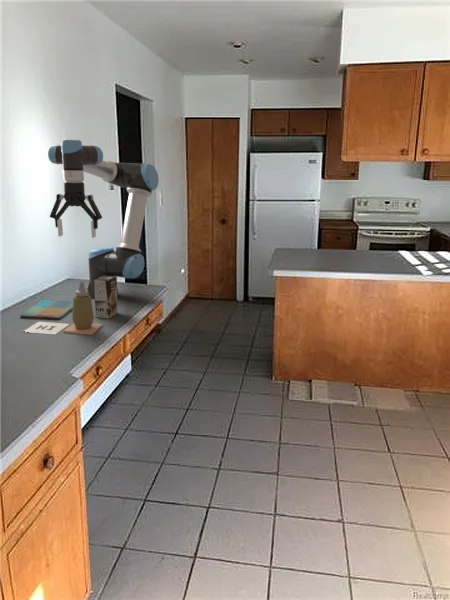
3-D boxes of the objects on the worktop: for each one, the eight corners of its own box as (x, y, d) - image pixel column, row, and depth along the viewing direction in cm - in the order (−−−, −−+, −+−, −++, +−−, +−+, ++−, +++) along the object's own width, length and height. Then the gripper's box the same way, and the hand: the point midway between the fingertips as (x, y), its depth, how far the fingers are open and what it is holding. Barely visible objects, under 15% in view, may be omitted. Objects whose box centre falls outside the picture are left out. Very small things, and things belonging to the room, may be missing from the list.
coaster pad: (75, 323, 200) (75, 321, 200) (102, 325, 199) (102, 323, 199) (63, 332, 190) (63, 330, 190) (91, 334, 189) (91, 332, 188)
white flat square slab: (38, 321, 201) (38, 321, 201) (69, 324, 200) (69, 323, 200) (22, 332, 189) (22, 331, 189) (55, 334, 187) (55, 334, 187)
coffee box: (109, 318, 209) (108, 280, 204) (94, 317, 210) (93, 279, 206) (118, 312, 217) (117, 276, 213) (104, 311, 218) (103, 275, 214)
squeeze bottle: (93, 330, 191) (91, 284, 187) (71, 330, 190) (69, 284, 185) (95, 323, 199) (93, 279, 194) (73, 324, 198) (71, 279, 193)
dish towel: (79, 306, 227) (78, 300, 226) (60, 321, 204) (60, 315, 204) (41, 304, 228) (41, 298, 227) (18, 319, 205) (18, 313, 204)
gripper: (38, 181, 192) (42, 236, 198) (102, 183, 190) (104, 239, 196) (46, 180, 199) (50, 233, 205) (108, 182, 197) (110, 236, 203)
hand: (77, 236), depth 200 cm, fingers open, 13 cm apart
